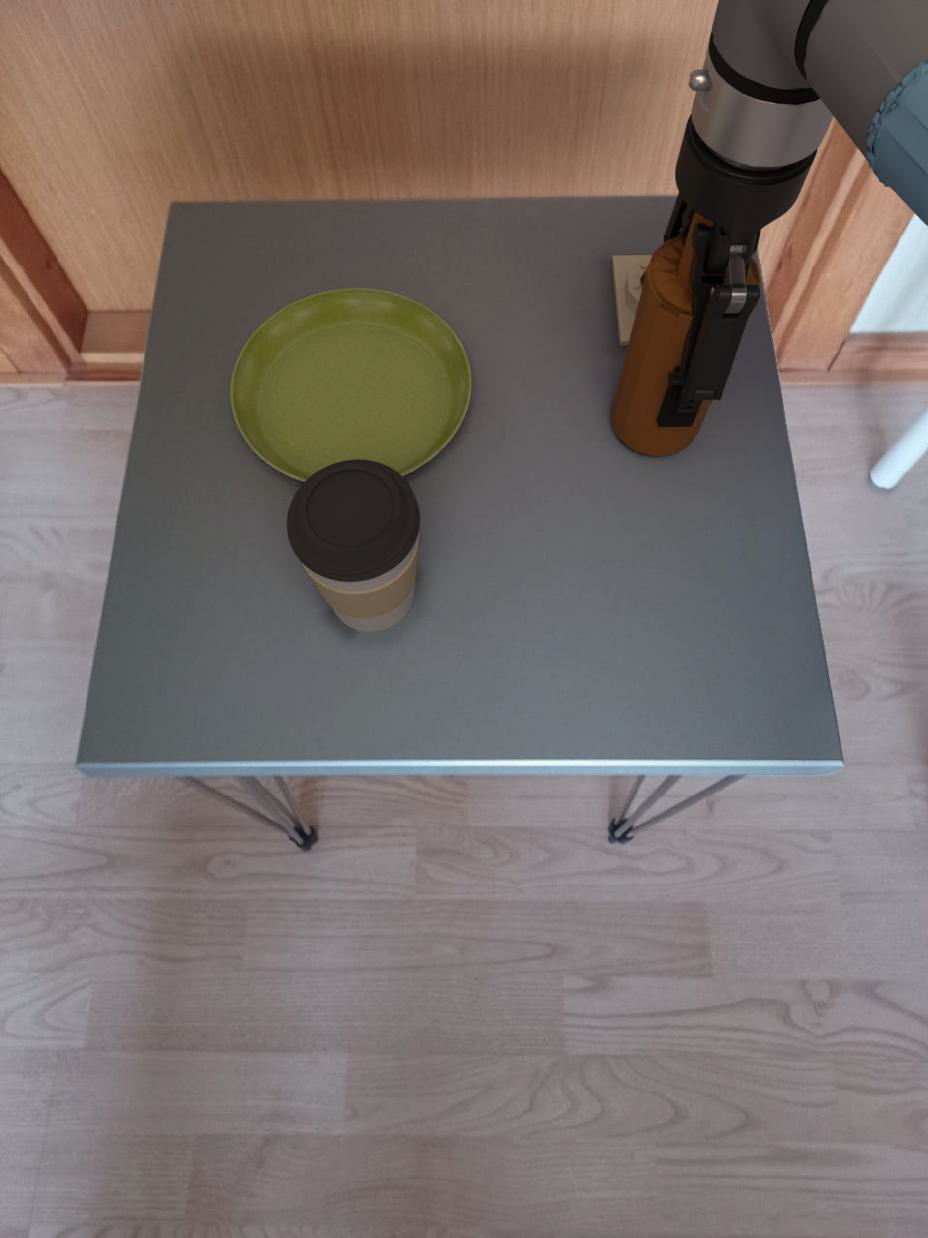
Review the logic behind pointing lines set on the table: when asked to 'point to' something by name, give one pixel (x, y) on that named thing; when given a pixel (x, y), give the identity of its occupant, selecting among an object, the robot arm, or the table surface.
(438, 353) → the green plate
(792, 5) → the robot arm
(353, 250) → the table surface
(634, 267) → the cream button plate
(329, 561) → the coffee cup
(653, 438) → the brown bottle
